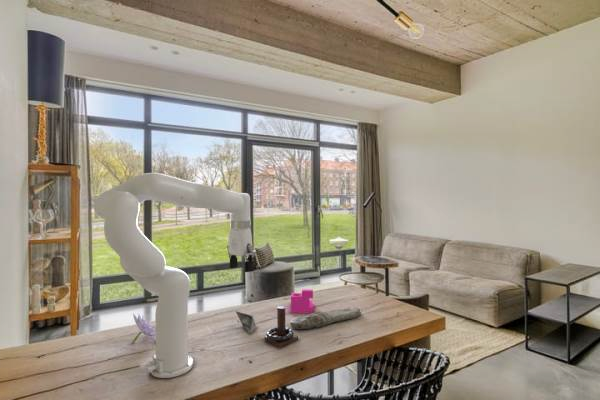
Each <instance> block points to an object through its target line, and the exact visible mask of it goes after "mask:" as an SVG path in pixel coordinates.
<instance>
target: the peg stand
mask: <svg viewBox="0 0 600 400" xmlns="http://www.w3.org/2000/svg"><path fill="white" fill-rule="evenodd" d="M276 308H277V309H276V312H277V314H276V315H277V316H276V317H277V319H276V321H277V325H276V327H277V332H274V333H271V335H273V336H277V337H281V336H286V335H288V334H289V333H287V332H285V327H286V306H283V305H280V306H277V307H276ZM264 341H265V342H267V343H268V344H271V345H273V346H275V347H277V348H279V349H282V348H285V347H287V346H289V345H291V344H293V343H296V342H297V341H299V335H297V334H294V335H293V336H292V338H291V339H288V340H286V341H272V340H270V339H268V338H267V336H266V335H265V336H264Z"/></svg>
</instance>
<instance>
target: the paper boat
mask: <svg viewBox="0 0 600 400" xmlns="http://www.w3.org/2000/svg"><path fill="white" fill-rule="evenodd" d="M235 313H236V315H237V317H238V319H237V321H236V322H237V323H238V324H239V323H240V324H241V325H242V327H243V329H245V330H246V332H248V333H249V334H250V335H251V334H252V333H253V332H254V331H255V330H256V329H257V325H256V321H255V318H254V315H251V314H247V313H244V312H240V311H235Z"/></svg>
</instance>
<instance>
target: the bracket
mask: <svg viewBox="0 0 600 400" xmlns="http://www.w3.org/2000/svg"><path fill="white" fill-rule="evenodd" d="M310 299H311V300H310ZM312 299H314V289H311V288H309V289H304V288H303V289H301V292H291V294H290V313H291V314H310V313H314V303H313V300H312Z"/></svg>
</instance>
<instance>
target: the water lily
mask: <svg viewBox="0 0 600 400" xmlns="http://www.w3.org/2000/svg"><path fill="white" fill-rule="evenodd" d="M137 314H138V315H137V316H136V315H135V314H134V313H133V314H132V316H133V319H134V323H135V325H136V327H137V328H138V329H139V331H140V332H139V333H138V334H137V335H136V336H135V338H134V339H133V341H132V342H131V343H132V344H135V343H136V341H137V339H138V338H139V337H140V335H141V334H143V335H144V336H145V337H146V338H148V339H150V341H154V342H156V337H153V336H156V325H153V326H152V325H150V319H149V318H147V319H146V320H144V319H145V317H144V316H142V317H141V315H140V313H137Z"/></svg>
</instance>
